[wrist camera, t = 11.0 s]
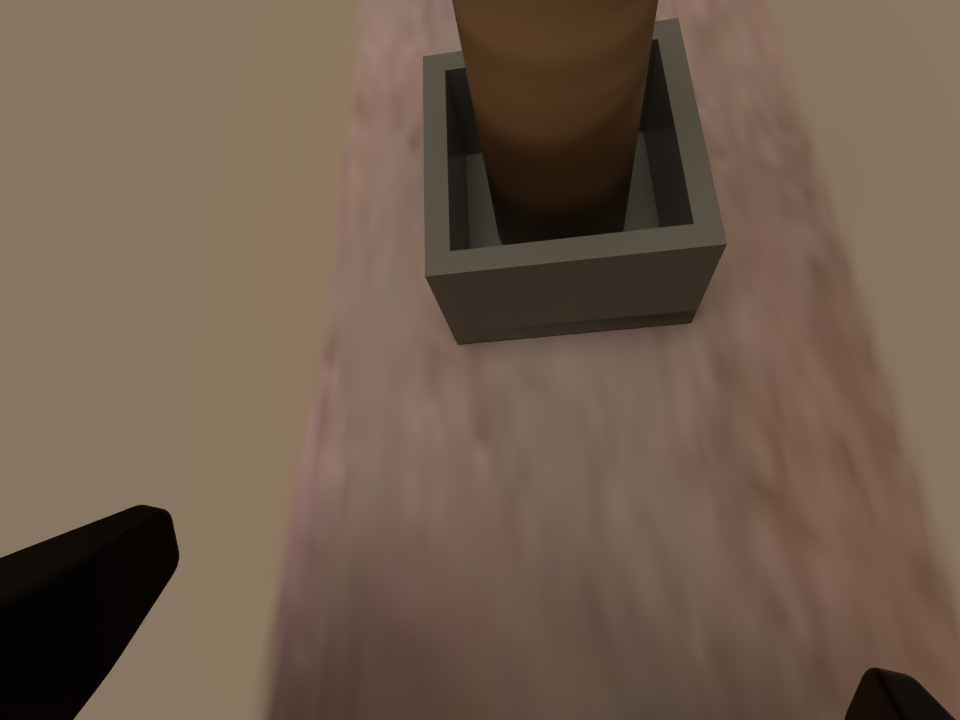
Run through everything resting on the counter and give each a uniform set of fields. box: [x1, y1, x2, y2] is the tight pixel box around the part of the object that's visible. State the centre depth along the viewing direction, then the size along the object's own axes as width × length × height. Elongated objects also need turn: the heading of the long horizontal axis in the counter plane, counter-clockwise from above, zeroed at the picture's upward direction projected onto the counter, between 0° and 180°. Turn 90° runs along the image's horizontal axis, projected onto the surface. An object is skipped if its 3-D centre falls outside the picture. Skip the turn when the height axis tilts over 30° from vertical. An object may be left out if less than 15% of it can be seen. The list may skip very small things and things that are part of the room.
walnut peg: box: [452, 0, 658, 245], centre depth 15 cm, size 4×4×13 cm
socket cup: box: [423, 18, 727, 344], centre depth 20 cm, size 8×8×5 cm
